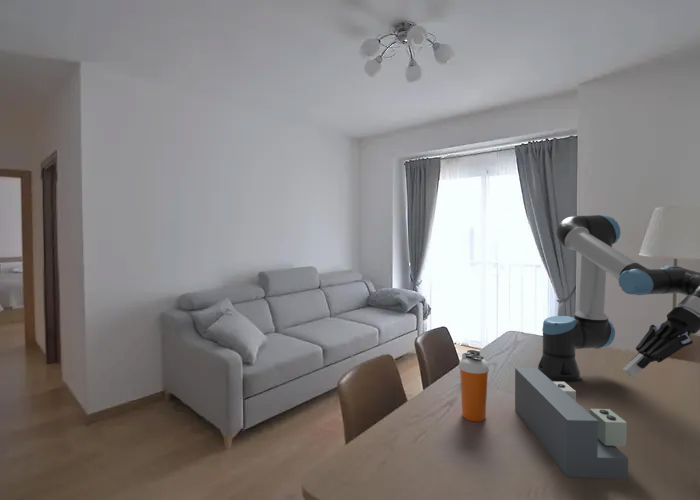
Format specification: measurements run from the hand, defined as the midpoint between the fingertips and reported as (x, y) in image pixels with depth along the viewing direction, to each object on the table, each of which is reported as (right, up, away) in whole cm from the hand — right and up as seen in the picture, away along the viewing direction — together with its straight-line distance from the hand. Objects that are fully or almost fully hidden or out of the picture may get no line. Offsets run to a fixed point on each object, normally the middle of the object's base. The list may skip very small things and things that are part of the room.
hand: (627, 373), depth 107 cm
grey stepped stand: (-19, -18, -1) cm, 27 cm away
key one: (-15, -12, +8) cm, 21 cm away
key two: (-13, -13, -10) cm, 21 cm away
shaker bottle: (-40, -18, +13) cm, 46 cm away
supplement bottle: (-31, -17, +40) cm, 53 cm away
